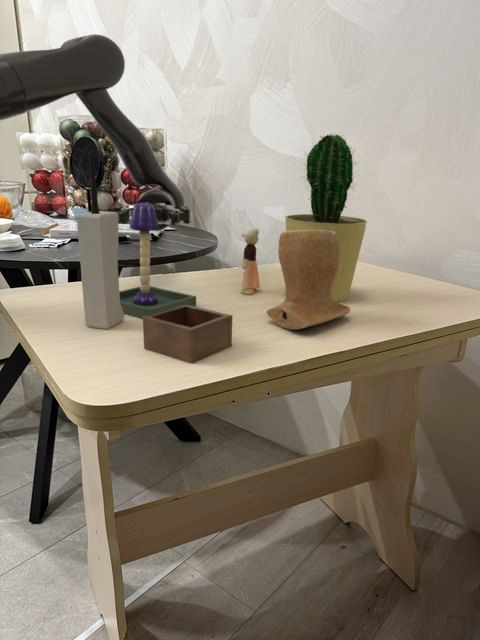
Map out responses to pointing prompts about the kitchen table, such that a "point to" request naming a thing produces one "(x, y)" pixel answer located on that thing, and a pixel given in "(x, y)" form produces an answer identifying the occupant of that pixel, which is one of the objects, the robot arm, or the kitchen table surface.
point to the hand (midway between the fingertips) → (148, 218)
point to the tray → (165, 302)
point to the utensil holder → (99, 262)
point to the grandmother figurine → (250, 261)
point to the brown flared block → (308, 279)
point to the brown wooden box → (187, 332)
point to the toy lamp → (144, 249)
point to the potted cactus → (332, 206)
